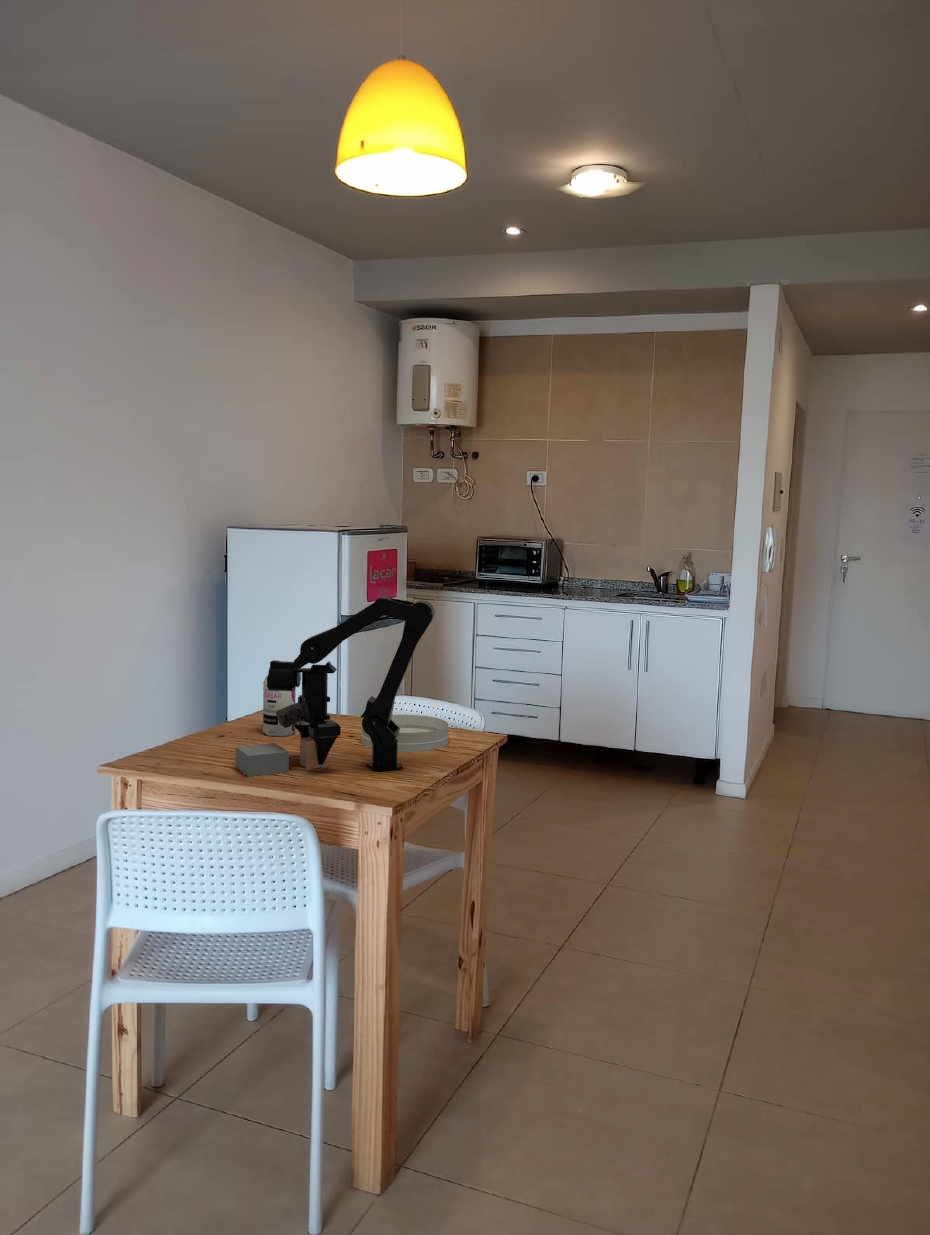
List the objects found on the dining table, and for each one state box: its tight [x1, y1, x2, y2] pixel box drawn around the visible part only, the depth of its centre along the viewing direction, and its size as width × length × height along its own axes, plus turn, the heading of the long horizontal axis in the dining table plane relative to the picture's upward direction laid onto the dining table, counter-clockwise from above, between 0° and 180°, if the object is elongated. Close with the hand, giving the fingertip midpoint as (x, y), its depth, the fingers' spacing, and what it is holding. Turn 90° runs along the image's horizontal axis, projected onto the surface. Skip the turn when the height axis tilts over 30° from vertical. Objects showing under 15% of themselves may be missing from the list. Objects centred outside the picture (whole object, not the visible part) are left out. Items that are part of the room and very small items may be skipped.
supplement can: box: [262, 674, 297, 737], centre depth 253 cm, size 8×8×15 cm
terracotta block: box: [299, 737, 329, 770], centre depth 222 cm, size 5×5×6 cm
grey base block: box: [235, 742, 290, 778], centre depth 217 cm, size 9×9×5 cm
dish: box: [360, 714, 450, 753], centre depth 248 cm, size 22×22×5 cm
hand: (314, 759), depth 222 cm, fingers open, 9 cm apart
